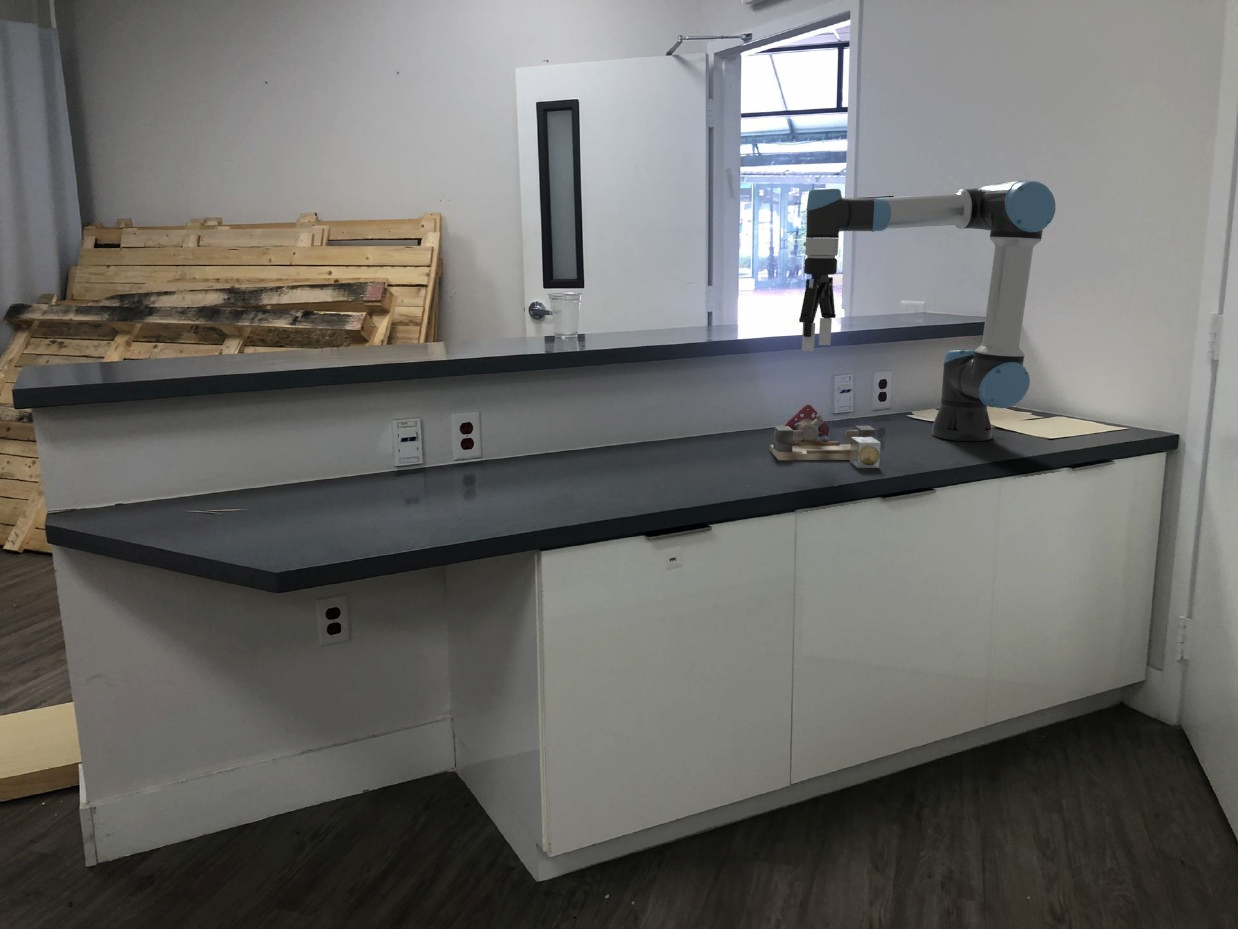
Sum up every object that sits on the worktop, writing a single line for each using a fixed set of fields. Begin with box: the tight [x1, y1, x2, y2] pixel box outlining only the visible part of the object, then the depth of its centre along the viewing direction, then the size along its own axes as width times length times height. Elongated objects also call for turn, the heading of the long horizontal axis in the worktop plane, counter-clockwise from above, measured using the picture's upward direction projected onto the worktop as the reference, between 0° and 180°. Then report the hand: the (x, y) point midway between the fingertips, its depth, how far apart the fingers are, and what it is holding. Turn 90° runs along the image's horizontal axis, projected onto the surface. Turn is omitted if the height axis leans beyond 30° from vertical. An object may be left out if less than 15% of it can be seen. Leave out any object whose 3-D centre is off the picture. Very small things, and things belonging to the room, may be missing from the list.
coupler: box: [849, 437, 882, 469], centre depth 225 cm, size 8×5×6 cm, turn 3°
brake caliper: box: [784, 403, 830, 445], centre depth 242 cm, size 11×11×12 cm
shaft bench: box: [769, 425, 876, 461], centre depth 234 cm, size 24×10×7 cm, turn 93°
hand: (816, 348), depth 231 cm, fingers open, 13 cm apart
